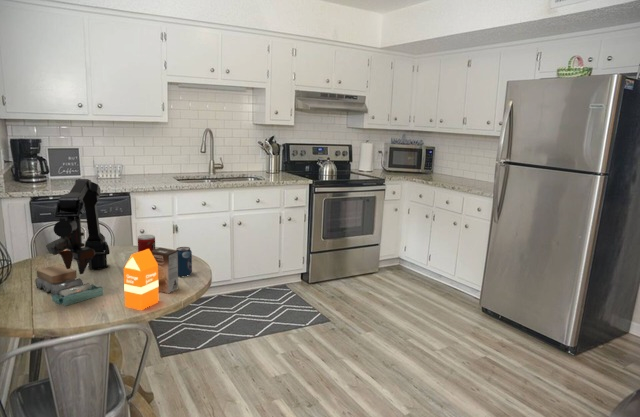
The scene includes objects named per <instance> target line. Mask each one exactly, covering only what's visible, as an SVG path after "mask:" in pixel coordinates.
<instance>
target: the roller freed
mask: <svg viewBox="0 0 640 417" xmlns="http://www.w3.org/2000/svg"><path fill="white" fill-rule="evenodd" d="M91 285H92V284H91V283H88V282H87V283H85V284H84V283H83V285H80V286H76V287H73V288H69V289H65V290H61V291H60V295H59V296H61V297H65V296H69V295H72V294H76V293H79V292H83V291H86V290H90V289H92V287H91Z"/></svg>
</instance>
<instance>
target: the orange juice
mask: <svg viewBox="0 0 640 417" xmlns="http://www.w3.org/2000/svg"><path fill="white" fill-rule="evenodd" d="M123 282H124V283H123V285H124V286H123V288H124V289H123V290H124V306H125V307H126V308H129V309H133V310H138V311H143V310H145V308H146V309H148V308H150V307H152V306H154V305H155V304H158V303H159V302H160V300H159V299H160V298H159V297H160V295H159V293H160V292H159V291H158V287H159V285H158V264H157V262H156V260H155V259H154V257H153V255H152V253H151V251H150V249H146V250H143V251H140V252H138V251H137V252H134V253H132V254H131V255H130V257H129V259H128V260H127V262H126V264H125V266H124V267H123ZM158 301H159V302H158ZM149 306H150V307H149ZM147 307H148V308H147Z"/></svg>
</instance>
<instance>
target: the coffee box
mask: <svg viewBox="0 0 640 417" xmlns="http://www.w3.org/2000/svg"><path fill="white" fill-rule="evenodd" d="M151 253H152V255H153V257H154V259H155V260H156V262H157V264H158V285H159V287H158V291H160V292H159V293H163V292H165V293H164V294H168V293H169V294H170V292H171V291H173V290H175V289H176V290H178V289H179V276H178V251H176V249H170V248H166V247H165V248H164V247H158V248H155V250H152V251H151ZM177 288H178V289H177ZM176 290H175V291H176ZM173 292H174V291H173ZM171 293H172V292H171Z"/></svg>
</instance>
